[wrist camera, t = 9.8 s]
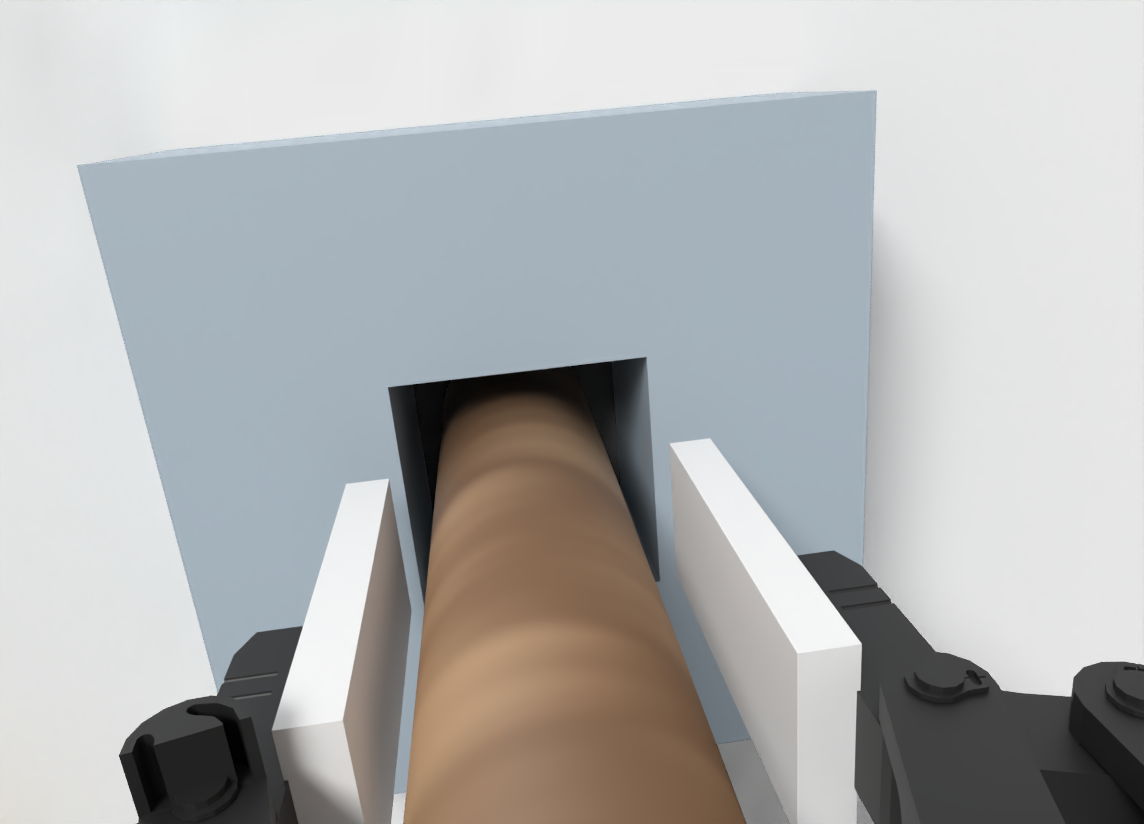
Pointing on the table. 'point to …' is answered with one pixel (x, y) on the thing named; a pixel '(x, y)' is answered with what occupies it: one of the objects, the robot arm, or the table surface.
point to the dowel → (548, 632)
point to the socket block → (494, 326)
